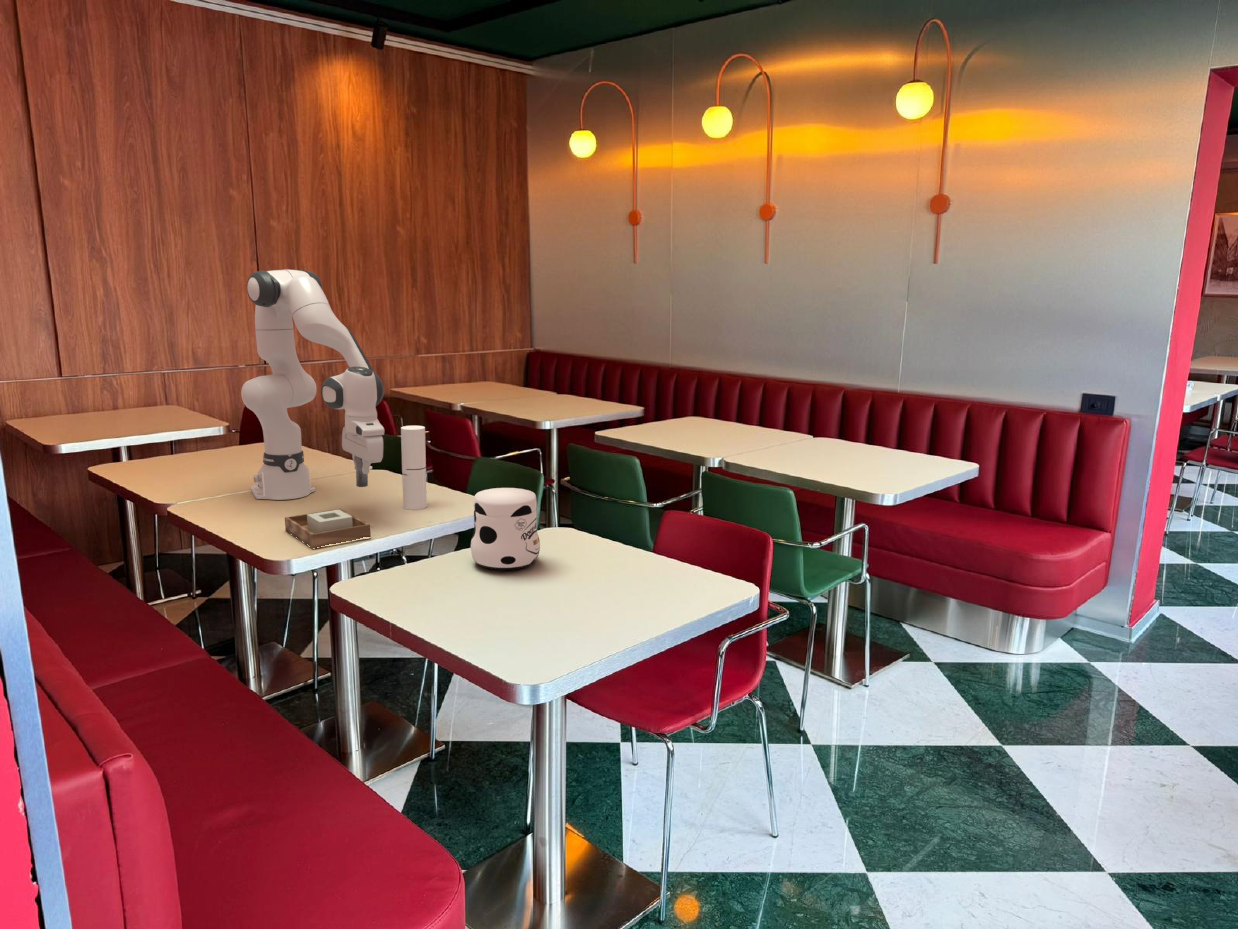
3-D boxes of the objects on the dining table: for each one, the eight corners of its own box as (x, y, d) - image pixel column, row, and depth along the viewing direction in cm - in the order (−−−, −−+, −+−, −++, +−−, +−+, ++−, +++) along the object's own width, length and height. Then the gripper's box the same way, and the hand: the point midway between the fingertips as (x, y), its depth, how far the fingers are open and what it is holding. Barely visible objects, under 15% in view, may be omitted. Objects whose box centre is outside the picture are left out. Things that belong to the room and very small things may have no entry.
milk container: (550, 570, 216) (550, 500, 212) (483, 579, 208) (482, 507, 204) (525, 549, 231) (526, 484, 227) (462, 557, 223) (461, 490, 219)
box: (285, 531, 241) (284, 517, 240) (341, 521, 251) (340, 508, 250) (312, 549, 226) (312, 534, 225) (370, 538, 236) (370, 524, 236)
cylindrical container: (420, 510, 265) (419, 430, 260) (399, 508, 267) (396, 428, 261) (430, 504, 272) (428, 426, 267) (409, 503, 273) (407, 424, 268)
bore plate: (307, 532, 238) (306, 514, 236) (339, 526, 243) (338, 509, 242) (320, 540, 231) (319, 522, 230) (352, 534, 237) (352, 516, 235)
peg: (354, 485, 251) (353, 448, 249) (365, 483, 253) (364, 446, 251) (359, 487, 249) (358, 450, 246) (369, 486, 251) (369, 449, 248)
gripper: (335, 419, 252) (336, 465, 256) (365, 431, 237) (366, 480, 240) (356, 417, 256) (357, 462, 260) (387, 430, 241) (387, 478, 244)
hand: (361, 471), depth 250 cm, fingers closed on peg, 3 cm apart
